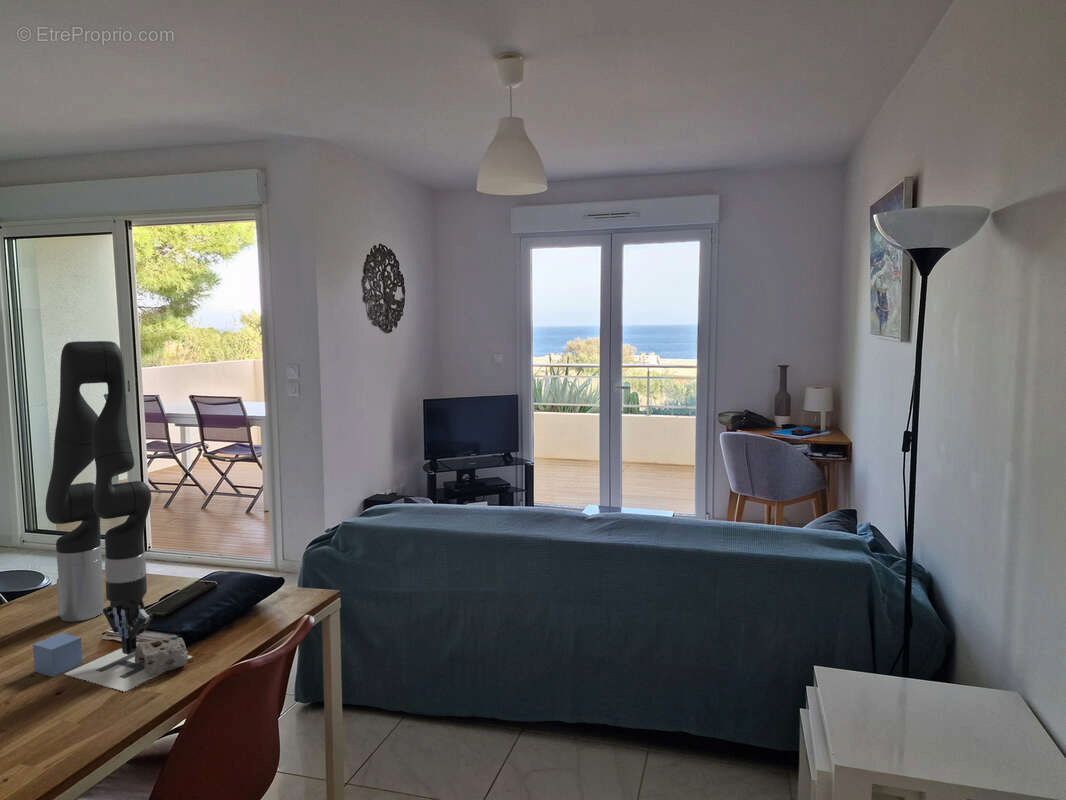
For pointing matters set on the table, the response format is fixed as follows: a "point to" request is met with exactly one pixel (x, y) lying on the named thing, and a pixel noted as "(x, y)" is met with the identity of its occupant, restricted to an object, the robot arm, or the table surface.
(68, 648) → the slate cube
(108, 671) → the letter card
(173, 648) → the stone
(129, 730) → the table surface
